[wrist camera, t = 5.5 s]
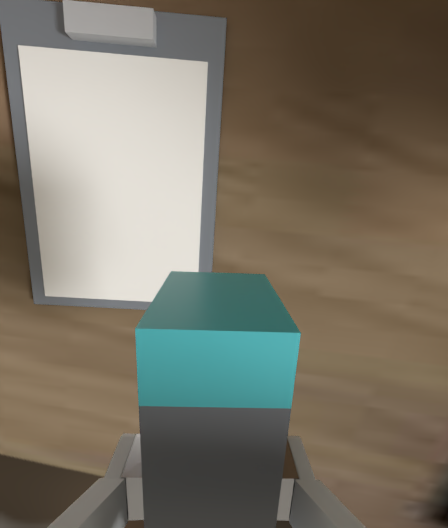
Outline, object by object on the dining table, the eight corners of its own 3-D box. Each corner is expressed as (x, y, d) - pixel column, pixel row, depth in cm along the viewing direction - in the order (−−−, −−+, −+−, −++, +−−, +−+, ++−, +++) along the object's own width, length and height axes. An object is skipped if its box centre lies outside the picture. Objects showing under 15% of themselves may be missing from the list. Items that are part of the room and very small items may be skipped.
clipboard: (226, 23, 19) (227, 8, 18) (209, 310, 25) (209, 317, 23) (3, 2, 19) (-16, -16, 17) (38, 301, 24) (26, 308, 23)
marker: (170, 271, 10) (135, 328, 6) (264, 274, 10) (300, 333, 6) (172, 513, 13) (150, 670, 9) (244, 513, 13) (257, 668, 9)
